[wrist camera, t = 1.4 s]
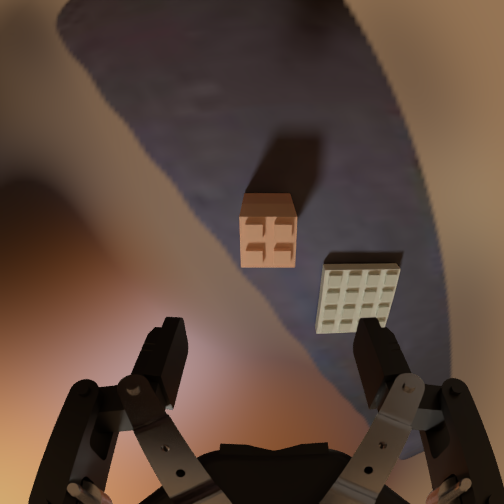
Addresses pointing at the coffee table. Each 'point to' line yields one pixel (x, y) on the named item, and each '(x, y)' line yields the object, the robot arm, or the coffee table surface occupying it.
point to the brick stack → (268, 230)
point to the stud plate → (355, 295)
